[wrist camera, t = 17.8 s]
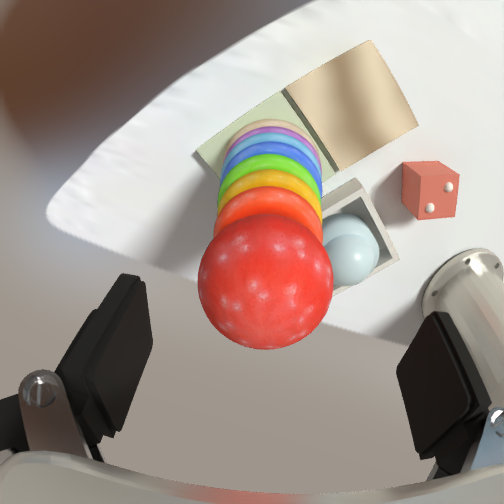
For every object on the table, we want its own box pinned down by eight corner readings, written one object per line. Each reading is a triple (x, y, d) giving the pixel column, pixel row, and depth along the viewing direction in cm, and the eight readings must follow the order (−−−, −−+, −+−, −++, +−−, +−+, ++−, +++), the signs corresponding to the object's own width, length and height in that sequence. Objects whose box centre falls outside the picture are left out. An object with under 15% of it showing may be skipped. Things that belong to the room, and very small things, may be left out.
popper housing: (355, 177, 27) (363, 187, 24) (391, 245, 30) (399, 259, 28) (276, 224, 29) (277, 238, 27) (321, 284, 33) (324, 300, 31)
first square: (368, 40, 20) (370, 39, 19) (415, 123, 23) (418, 125, 23) (284, 87, 23) (285, 87, 22) (338, 168, 26) (340, 171, 26)
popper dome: (353, 200, 26) (370, 228, 22) (380, 249, 29) (397, 281, 24) (297, 234, 28) (302, 266, 24) (327, 278, 31) (336, 313, 26)
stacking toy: (287, 99, 23) (340, 153, 7) (334, 179, 26) (422, 347, 10) (205, 149, 25) (106, 291, 9) (257, 221, 29) (245, 412, 13)
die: (438, 161, 25) (461, 176, 21) (435, 199, 27) (456, 218, 23) (402, 162, 25) (423, 177, 22) (401, 201, 28) (419, 222, 24)
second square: (279, 90, 23) (280, 91, 22) (334, 171, 26) (335, 174, 26) (198, 147, 26) (196, 149, 25) (255, 219, 29) (255, 223, 29)
